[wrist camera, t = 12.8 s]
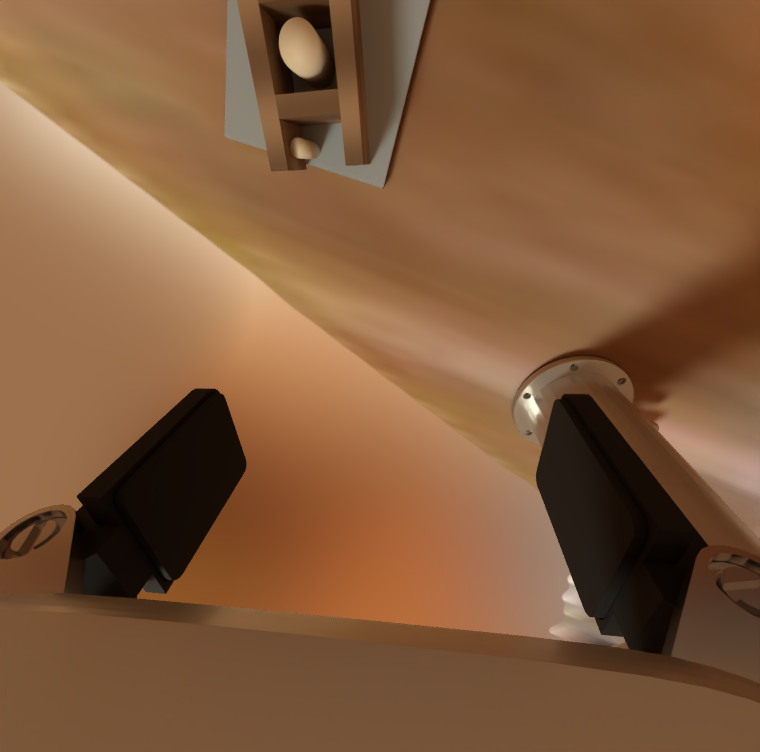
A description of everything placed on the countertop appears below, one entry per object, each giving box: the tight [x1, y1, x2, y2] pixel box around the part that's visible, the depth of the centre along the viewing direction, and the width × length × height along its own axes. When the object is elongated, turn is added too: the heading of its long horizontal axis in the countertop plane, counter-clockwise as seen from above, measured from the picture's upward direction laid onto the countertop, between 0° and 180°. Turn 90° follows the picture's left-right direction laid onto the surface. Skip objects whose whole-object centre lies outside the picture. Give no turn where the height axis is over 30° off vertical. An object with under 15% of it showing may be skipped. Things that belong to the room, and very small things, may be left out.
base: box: [225, 0, 431, 188], centre depth 22 cm, size 13×13×6 cm
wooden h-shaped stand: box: [237, 0, 370, 171], centre depth 22 cm, size 12×6×5 cm, turn 4°
